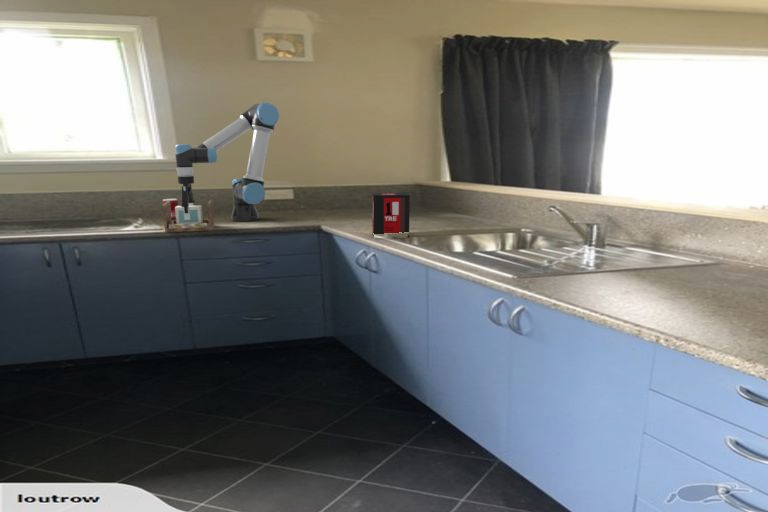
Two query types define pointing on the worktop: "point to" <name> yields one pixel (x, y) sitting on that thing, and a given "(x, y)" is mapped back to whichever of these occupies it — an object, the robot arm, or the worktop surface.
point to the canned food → (172, 206)
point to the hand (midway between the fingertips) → (189, 217)
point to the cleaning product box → (390, 212)
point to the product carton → (194, 214)
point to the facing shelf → (170, 227)
